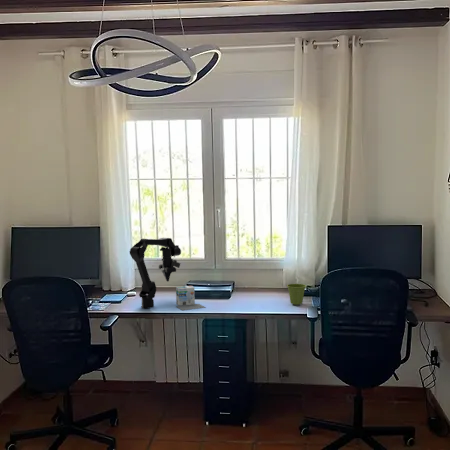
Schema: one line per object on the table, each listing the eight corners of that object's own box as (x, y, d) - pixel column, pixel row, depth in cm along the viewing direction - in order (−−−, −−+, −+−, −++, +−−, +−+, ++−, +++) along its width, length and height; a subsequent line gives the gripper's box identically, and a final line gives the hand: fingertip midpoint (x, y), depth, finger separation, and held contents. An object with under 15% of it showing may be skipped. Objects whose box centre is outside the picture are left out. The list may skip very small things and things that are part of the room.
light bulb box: (178, 306, 321) (178, 288, 320) (175, 303, 327) (175, 286, 326) (195, 304, 325) (194, 287, 324) (192, 302, 331) (191, 285, 330)
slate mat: (182, 310, 309) (182, 310, 309) (176, 306, 319) (176, 306, 319) (205, 307, 315) (205, 307, 315) (199, 304, 325) (199, 303, 325)
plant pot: (290, 306, 313) (290, 287, 313) (284, 302, 325) (284, 284, 324) (309, 304, 316) (309, 286, 315) (302, 300, 327) (302, 283, 326)
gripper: (183, 257, 328) (184, 282, 329) (174, 254, 345) (175, 278, 346) (166, 259, 323) (167, 284, 324) (158, 256, 340) (158, 279, 341)
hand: (167, 281), depth 334 cm, fingers closed
